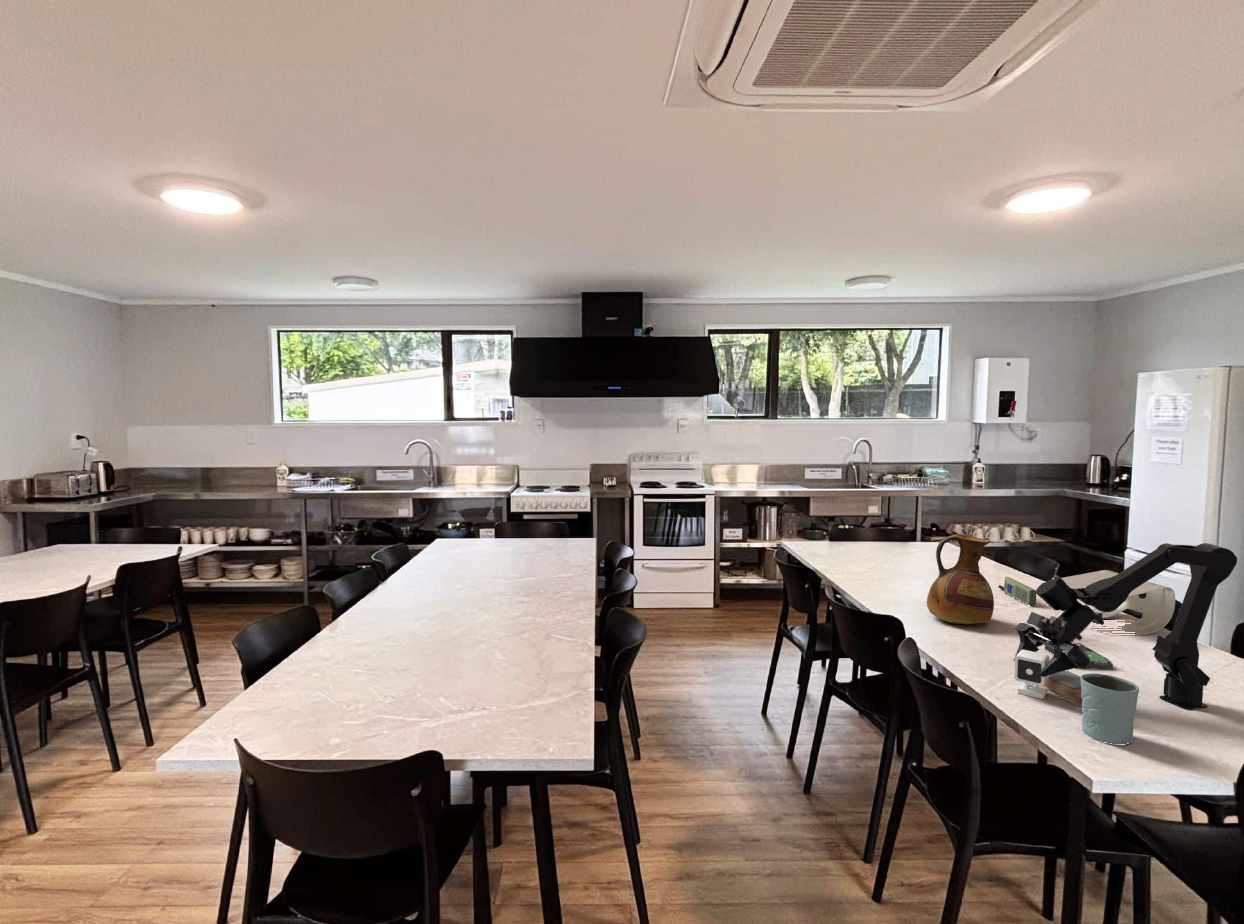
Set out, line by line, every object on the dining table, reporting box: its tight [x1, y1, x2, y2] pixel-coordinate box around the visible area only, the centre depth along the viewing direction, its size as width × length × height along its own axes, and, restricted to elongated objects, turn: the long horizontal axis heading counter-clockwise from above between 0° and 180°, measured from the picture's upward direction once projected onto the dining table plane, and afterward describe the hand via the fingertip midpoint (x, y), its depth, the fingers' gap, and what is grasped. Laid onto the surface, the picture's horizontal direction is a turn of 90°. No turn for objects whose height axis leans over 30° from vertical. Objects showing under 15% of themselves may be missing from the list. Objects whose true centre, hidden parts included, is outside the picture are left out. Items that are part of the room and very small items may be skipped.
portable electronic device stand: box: [1051, 569, 1176, 636], centre depth 212 cm, size 26×24×16 cm
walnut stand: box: [1042, 670, 1082, 707], centre depth 158 cm, size 14×9×4 cm, turn 10°
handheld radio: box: [997, 576, 1037, 607], centre depth 244 cm, size 7×3×25 cm
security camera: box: [1013, 650, 1051, 700], centre depth 157 cm, size 6×7×10 cm
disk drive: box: [1044, 641, 1114, 670], centre depth 181 cm, size 10×3×15 cm
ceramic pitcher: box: [926, 533, 995, 625], centre depth 215 cm, size 20×20×30 cm
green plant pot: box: [1080, 673, 1140, 744], centre depth 136 cm, size 10×10×12 cm
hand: (1027, 668), depth 157 cm, fingers closed on security camera, 8 cm apart
